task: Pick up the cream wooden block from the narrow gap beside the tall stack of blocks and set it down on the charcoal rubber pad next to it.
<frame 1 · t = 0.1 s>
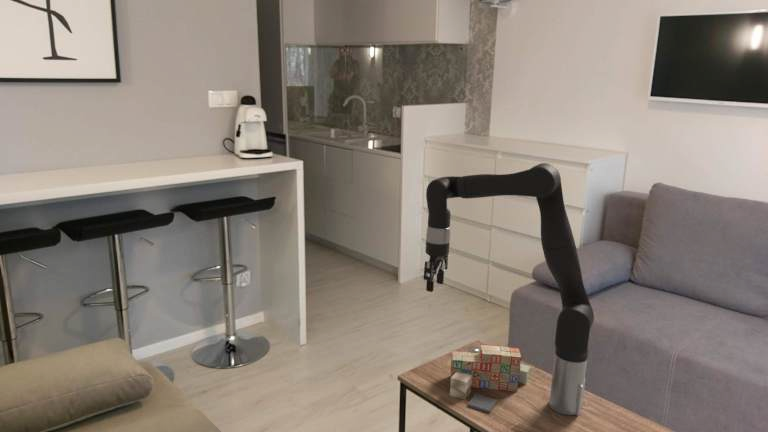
hand: (434, 287, 192), 29 cm above the table, tool pointing down, fingers open, 8 cm apart
sage green block: (520, 379, 193), on the table
cream block: (460, 393, 184), on the table
stack of blocks: (483, 384, 190), on the table
charcoal pad: (482, 404, 178), on the table
grey capsule: (473, 364, 202), on the table
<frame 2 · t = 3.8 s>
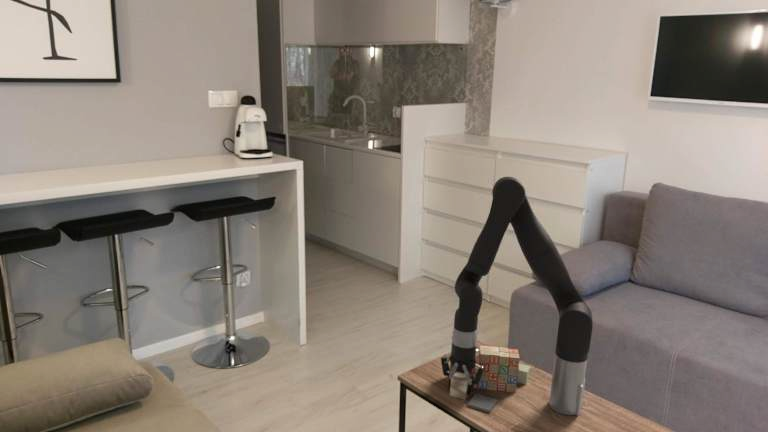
hand: (460, 390, 183), 1 cm above the table, tool pointing down, fingers closed on cream block, 5 cm apart
cream block: (460, 393, 183), on the table, touching gripper
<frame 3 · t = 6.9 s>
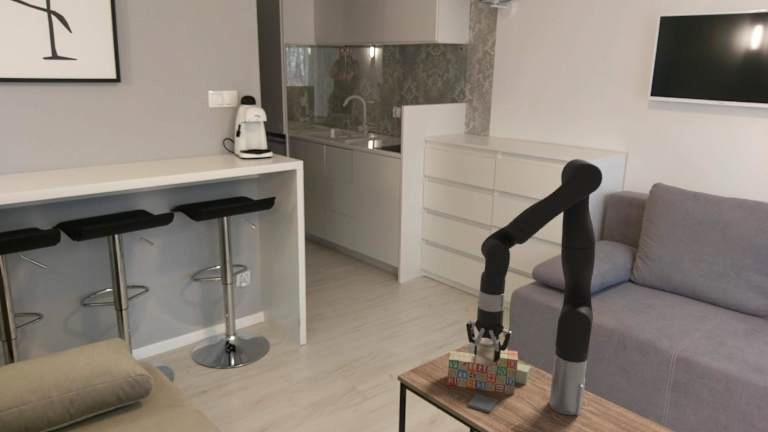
hand: (486, 358, 175), 15 cm above the table, tool pointing down, fingers closed on cream block, 5 cm apart
cream block: (486, 361, 175), point 14 cm above the table, touching gripper
when the fingers open (3 cm above the table, at t = 10.2 s): cream block stays where it is, resting on charcoal pad.
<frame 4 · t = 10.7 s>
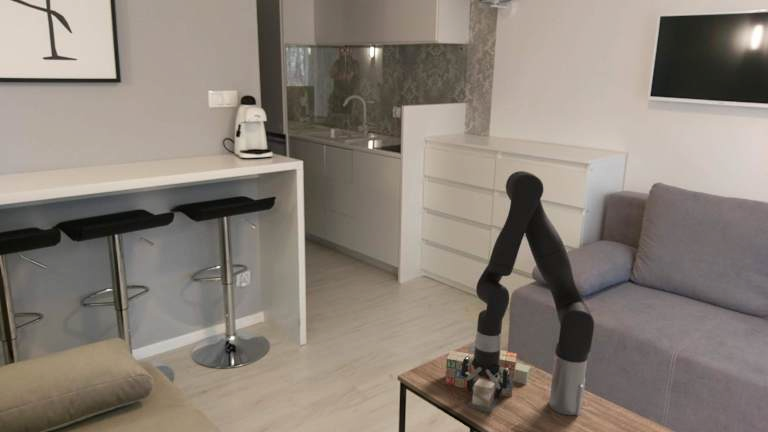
hand: (483, 394, 177), 3 cm above the table, tool pointing down, fingers open, 8 cm apart
cream block: (482, 401, 178), point 1 cm above the table, touching charcoal pad
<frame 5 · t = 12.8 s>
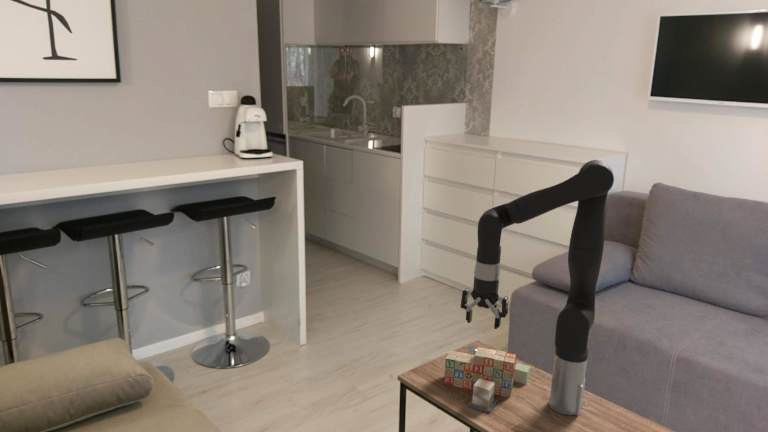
hand: (482, 325, 181), 22 cm above the table, tool pointing down, fingers open, 8 cm apart
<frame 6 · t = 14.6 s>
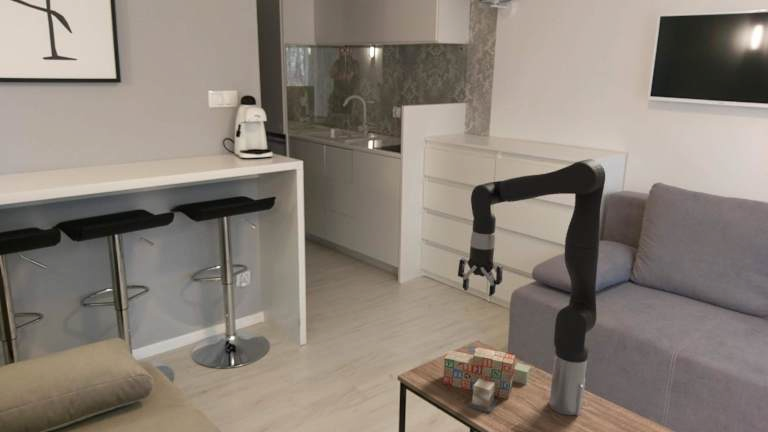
hand: (478, 292, 191), 28 cm above the table, tool pointing down, fingers open, 8 cm apart
at the end: cream block 0.0 cm off-centre on the charcoal pad, point 0.8 cm above the charcoal pad's base; cream block tilted 0°; the gripper is holding nothing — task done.
